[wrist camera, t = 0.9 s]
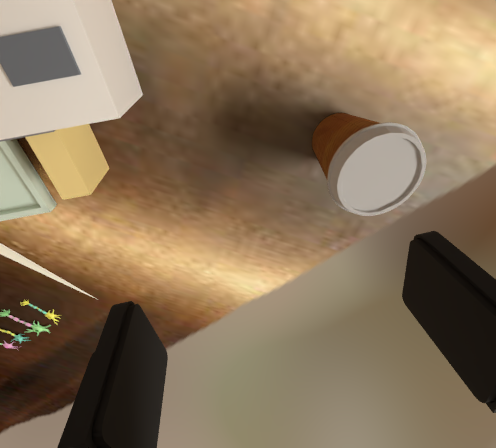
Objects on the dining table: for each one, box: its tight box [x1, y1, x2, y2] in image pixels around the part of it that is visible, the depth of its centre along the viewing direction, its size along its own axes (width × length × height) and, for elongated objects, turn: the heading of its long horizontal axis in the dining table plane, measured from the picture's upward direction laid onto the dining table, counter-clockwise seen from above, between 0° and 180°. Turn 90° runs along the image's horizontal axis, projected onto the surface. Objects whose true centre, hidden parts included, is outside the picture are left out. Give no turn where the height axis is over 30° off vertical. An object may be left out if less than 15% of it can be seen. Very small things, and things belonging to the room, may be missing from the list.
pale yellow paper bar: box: [25, 124, 109, 200], centre depth 30 cm, size 12×3×7 cm, turn 9°
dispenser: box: [0, 0, 143, 142], centre depth 25 cm, size 10×12×10 cm
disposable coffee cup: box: [312, 113, 426, 216], centre depth 32 cm, size 10×10×12 cm
